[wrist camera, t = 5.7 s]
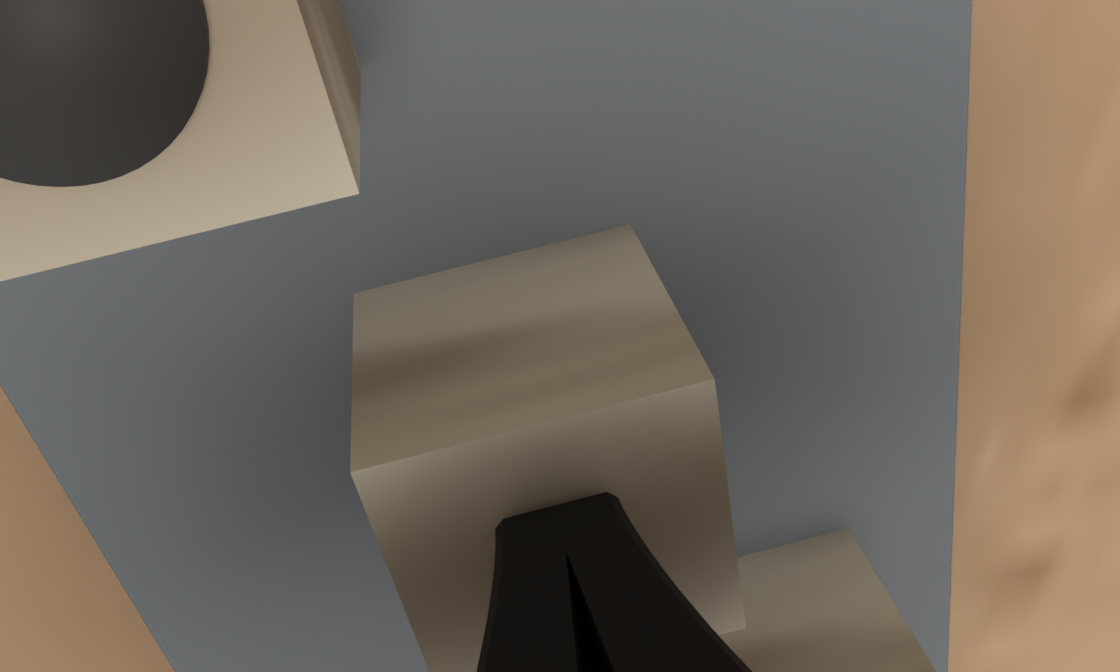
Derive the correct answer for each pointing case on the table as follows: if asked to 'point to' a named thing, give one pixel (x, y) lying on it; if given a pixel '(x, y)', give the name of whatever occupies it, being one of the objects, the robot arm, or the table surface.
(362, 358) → the plain block
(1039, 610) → the table surface
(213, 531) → the tapping mat
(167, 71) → the dotted block
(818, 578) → the dotted block
